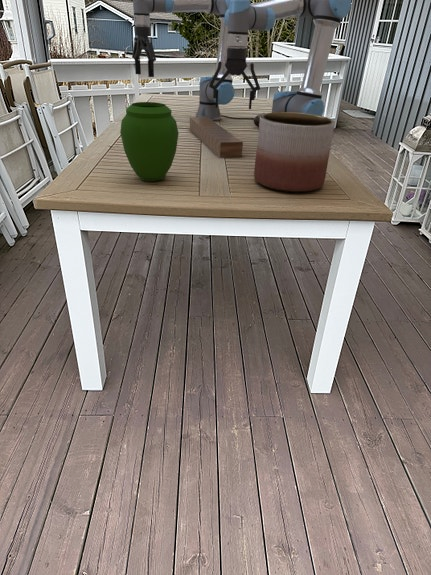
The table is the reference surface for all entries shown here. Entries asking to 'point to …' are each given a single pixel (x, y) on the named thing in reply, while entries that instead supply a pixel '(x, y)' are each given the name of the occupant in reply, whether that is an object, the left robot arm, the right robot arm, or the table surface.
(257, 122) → the seashell
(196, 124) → the narrow beam
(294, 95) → the right robot arm
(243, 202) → the table surface
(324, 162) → the planter
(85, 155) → the table surface
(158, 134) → the vase
